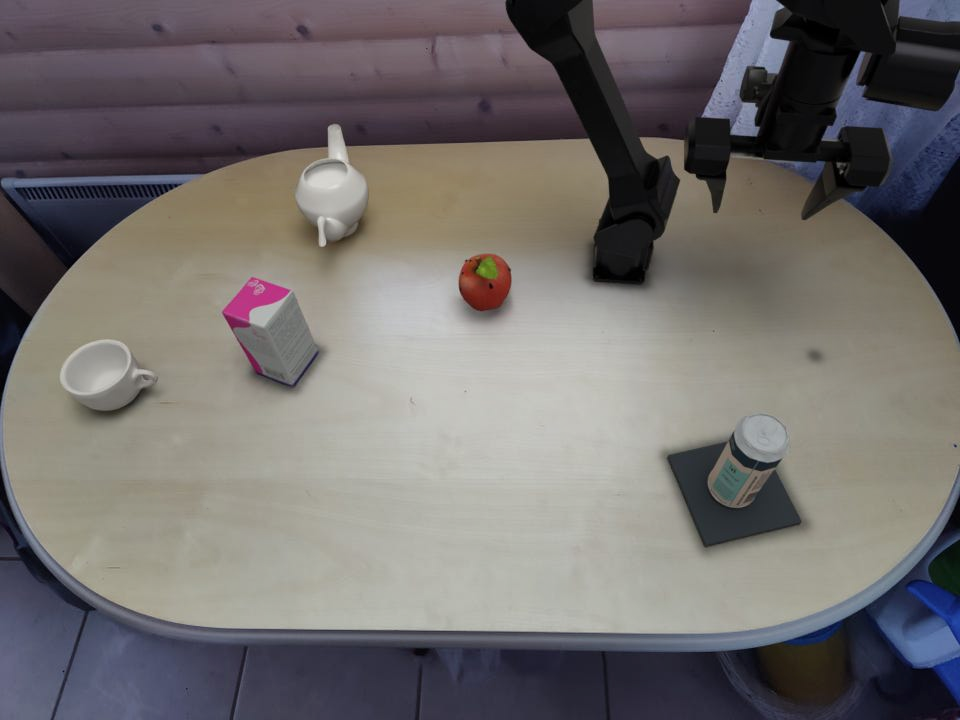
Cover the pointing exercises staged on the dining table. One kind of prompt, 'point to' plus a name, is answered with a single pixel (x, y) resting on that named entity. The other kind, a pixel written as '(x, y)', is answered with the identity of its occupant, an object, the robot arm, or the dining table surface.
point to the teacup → (104, 375)
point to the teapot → (332, 191)
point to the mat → (721, 520)
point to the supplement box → (271, 331)
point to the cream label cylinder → (748, 459)
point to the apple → (485, 281)
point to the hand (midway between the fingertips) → (758, 213)
